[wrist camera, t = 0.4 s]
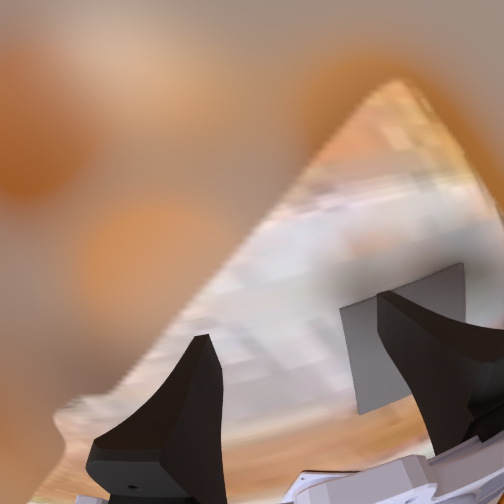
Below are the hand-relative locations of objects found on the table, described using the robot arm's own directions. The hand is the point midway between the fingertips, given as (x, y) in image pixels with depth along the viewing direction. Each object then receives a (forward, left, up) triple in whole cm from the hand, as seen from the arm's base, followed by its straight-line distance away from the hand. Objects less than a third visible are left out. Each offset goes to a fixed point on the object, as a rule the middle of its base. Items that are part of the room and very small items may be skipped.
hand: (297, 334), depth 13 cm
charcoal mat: (-4, -14, -11) cm, 18 cm away
